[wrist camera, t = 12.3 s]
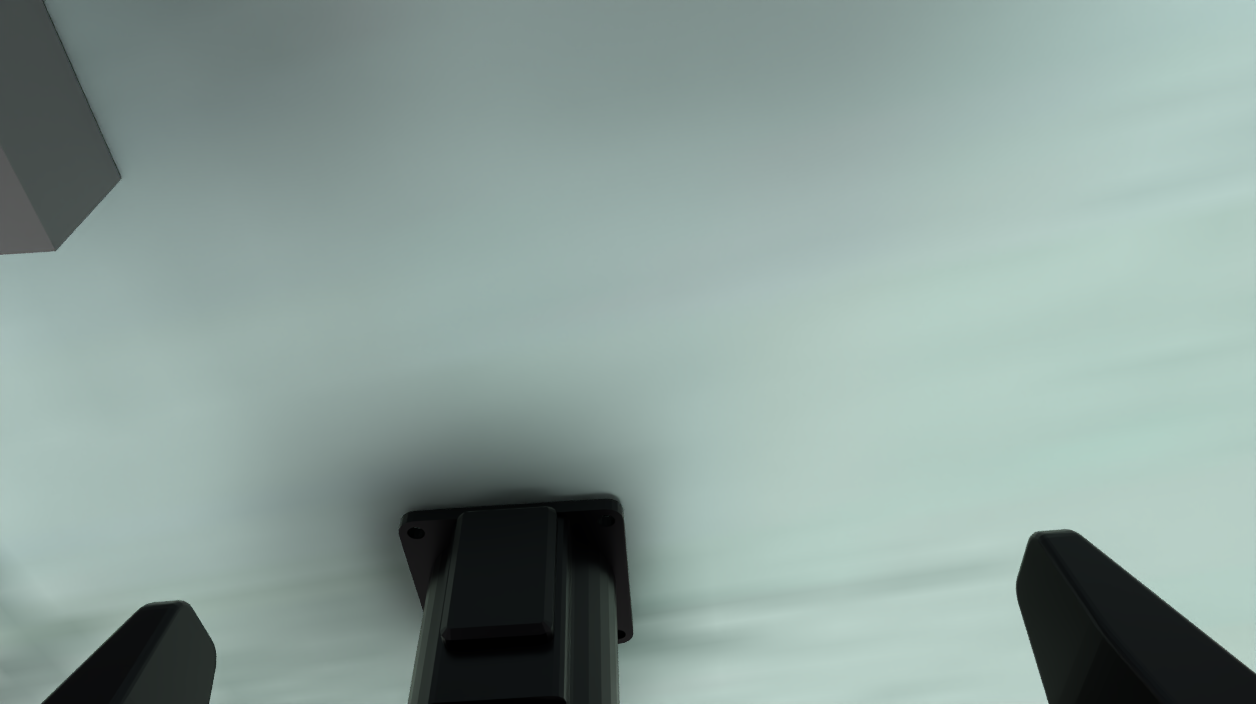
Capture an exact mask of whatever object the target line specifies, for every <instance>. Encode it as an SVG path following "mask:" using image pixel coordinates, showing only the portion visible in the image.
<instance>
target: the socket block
mask: <svg viewBox="0 0 1256 704" xmlns="http://www.w3.org/2000/svg"><path fill="white" fill-rule="evenodd" d="M120 180H121V177H120V175H119V173H118V171H117V168H116V166H115V164H114V162H113V159H112V157H111V155H110V152H109V150H108V148H107V146H106V143H105V141H104V139H103V137H102V134H101V132H100V130H99V128H98V125H97V123H96V121H95V119H94V116H93V114H92V112H91V110H90V107H89V105H88V103H87V101H86V98H85V96H84V94H83V91H82V89H81V87H80V85H79V82H78V80H77V78H76V76H75V73H74V71H73V69H72V67H71V64H70V62H69V60H68V58H67V55H66V53H65V51H64V49H63V46H62V44H61V42H60V40H59V37H58V35H57V33H56V30H55V28H54V26H53V24H52V21H51V19H50V17H49V15H48V12H47V10H46V8H45V6H44V3H43V1H42V0H0V255H3V254H18V253H33V252H49V251H56V250H57V249H58V248H59V247H60V246H61V245H62V244H63V242H64V241H65V240H66V239H67V238H68V237H69V236H70V235H71V234H72V233H73V231H74V230H75V229H76V228H77V227H78V226H79V225H80V224H81V223H82V222H83V221H84V219H85V218H86V217H87V216H88V215H89V214H90V213H91V212H92V211H93V210H94V208H95V207H96V206H97V205H98V204H99V203H100V202H101V201H102V200H103V199H104V197H105V196H106V195H107V194H108V193H109V192H110V191H111V190H112V189H113V188H114V186H115V185H116V184H117V183H118V182H119V181H120Z"/></svg>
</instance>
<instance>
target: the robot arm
mask: <svg viewBox="0 0 1256 704" xmlns="http://www.w3.org/2000/svg"><path fill="white" fill-rule="evenodd" d="M603 515H610V516H607V517H606V516H603ZM414 527H417V528H414ZM419 528H421V529H419ZM399 536H400V539H401V543H402V546H403V549H404V552H405V555H406V558H407V562H408V565H409V568H410V571H411V574H412V577H413V580H414V584H415V587H416V590H417V593H418V596H419V599H420V602H421V606H422V609H423V618H422V623H421V629H420V635H419V641H418V646H417V652H416V658H415V664H414V670H413V675H412V681H411V687H410V693H409V698H408V704H620V700H619V668H618V644H620V643H625V642H627V641H629V640H630V639H631V638H632V637H633V621H632V609H631V597H630V585H629V573H628V561H627V549H626V537H625V525H624V513H623V508H622V505H621V504H620V503H619V502H617V501H615V500H612V499H594V500H579V501H563V502H547V503H532V504H516V505H501V506H485V507H470V508H454V509H439V510H423V511H413V512H408V513H407V514H405V515H403V517H402V519H401V522H400V527H399ZM1016 594H1017V600H1018V604H1019V607H1020V611H1021V614H1022V617H1023V620H1024V624H1025V627H1026V630H1027V634H1028V637H1029V640H1030V644H1031V647H1032V650H1033V653H1034V657H1035V660H1036V663H1037V667H1038V670H1039V673H1040V677H1041V680H1042V683H1043V687H1044V690H1045V693H1046V696H1047V700H1048V703H1049V704H1256V673H1254V672H1253V671H1252V670H1251V669H1249V668H1248V667H1247V666H1246V665H1244V664H1243V663H1242V662H1241V661H1239V660H1238V659H1237V658H1236V657H1234V656H1233V655H1232V654H1230V653H1229V652H1228V651H1227V650H1225V649H1224V648H1223V647H1222V646H1220V645H1219V644H1218V643H1217V642H1215V641H1214V640H1213V639H1212V638H1210V637H1209V636H1208V635H1207V634H1205V633H1204V632H1203V631H1201V630H1200V629H1199V628H1198V627H1196V626H1195V625H1194V624H1193V623H1191V622H1190V621H1189V620H1188V619H1186V618H1185V617H1184V616H1183V615H1181V614H1180V613H1179V612H1177V611H1176V610H1175V609H1174V608H1172V607H1171V606H1170V605H1169V604H1167V603H1166V602H1165V601H1164V600H1162V599H1161V598H1160V597H1159V596H1157V595H1156V594H1155V593H1154V592H1152V591H1151V590H1150V589H1148V588H1147V587H1146V586H1145V585H1143V584H1142V583H1141V582H1140V581H1138V580H1137V579H1136V578H1135V577H1133V576H1132V575H1131V574H1130V573H1128V572H1127V571H1126V570H1125V569H1123V568H1122V567H1121V566H1119V565H1118V564H1117V563H1116V562H1114V561H1113V560H1112V559H1111V558H1109V557H1108V556H1107V555H1106V554H1104V553H1103V552H1102V551H1101V550H1099V549H1098V548H1097V547H1095V546H1094V545H1093V544H1092V543H1090V542H1089V541H1088V540H1087V539H1085V538H1084V537H1083V536H1082V535H1080V534H1079V533H1077V532H1075V531H1072V530H1067V529H1062V530H1049V531H1038V532H1035V533H1034V534H1032V535H1031V536H1030V538H1029V540H1028V543H1027V546H1026V549H1025V553H1024V556H1023V560H1022V563H1021V566H1020V570H1019V573H1018V576H1017V581H1016ZM215 669H216V650H215V646H214V643H213V641H212V639H211V638H210V636H209V635H208V633H207V631H206V630H205V628H204V626H203V625H202V623H201V621H200V620H199V618H198V616H197V615H196V613H195V611H194V610H193V608H192V607H191V605H190V604H188V603H187V602H185V601H182V600H176V601H164V602H153V603H149V604H146V605H144V606H143V607H141V608H140V609H139V610H137V611H136V612H135V613H134V614H133V615H132V616H131V617H130V618H129V619H128V620H127V621H126V622H125V623H124V624H123V625H122V626H121V627H120V628H119V629H118V630H117V631H115V632H114V633H113V634H112V635H111V636H110V637H109V638H108V639H107V640H106V641H105V642H104V643H103V644H102V645H101V646H100V647H99V648H98V649H97V650H96V651H95V652H94V653H93V654H92V655H91V656H90V657H89V658H88V659H87V660H86V661H85V662H83V663H82V664H81V665H80V666H79V667H78V668H77V669H76V670H75V671H74V672H73V673H72V674H71V675H70V676H69V677H68V678H67V679H66V680H65V681H64V682H63V683H62V684H61V685H60V686H59V687H58V688H57V689H56V690H55V691H54V692H53V693H51V694H50V695H49V696H48V697H47V698H46V699H45V700H44V701H43V702H42V703H41V704H209V701H210V696H211V690H212V685H213V680H214V674H215Z"/></svg>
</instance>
